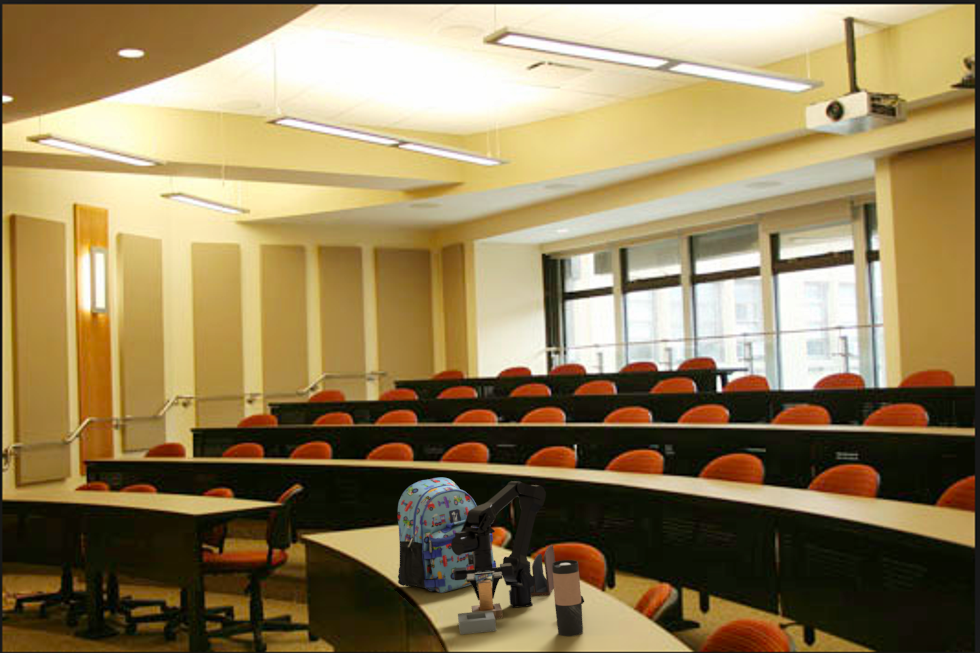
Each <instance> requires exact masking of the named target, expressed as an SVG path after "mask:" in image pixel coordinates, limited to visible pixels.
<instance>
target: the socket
mask: <svg viewBox="0 0 980 653" xmlns="http://www.w3.org/2000/svg"><path fill="white" fill-rule="evenodd" d="M457 617H458V618H457V619H458V622H457V623H458V628H459V635H469V634H476V633H477V634H478V633H486V632H487V633H488V632H496V631H497V624H496V619H495V617H494V614H493V611H492V610H490V611H480V612H472V611H470V612H461V613H457Z"/></svg>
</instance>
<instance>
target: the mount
mask: <svg viewBox="0 0 980 653" xmlns="http://www.w3.org/2000/svg"><path fill="white" fill-rule="evenodd" d="M470 608H471V612H480V605H479V604H478V605H471V607H470ZM491 610H492V611H493V614H494V617H495V620H496V619H499V620H500V619H504V616H503V615H504V614H503V609H502V606H501V603H500V602H498V603H493V609H491ZM481 611H490V610H481Z"/></svg>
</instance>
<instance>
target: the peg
mask: <svg viewBox="0 0 980 653" xmlns="http://www.w3.org/2000/svg"><path fill="white" fill-rule="evenodd" d="M477 587H478V592H479V600H478V601H479V604H478V605H480V611H481V610H491V609H493V604H494V602H493V600H494V598H493V599H492V580H491V579H486V580H485V579H484V580H482V581H478V582H477Z"/></svg>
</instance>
